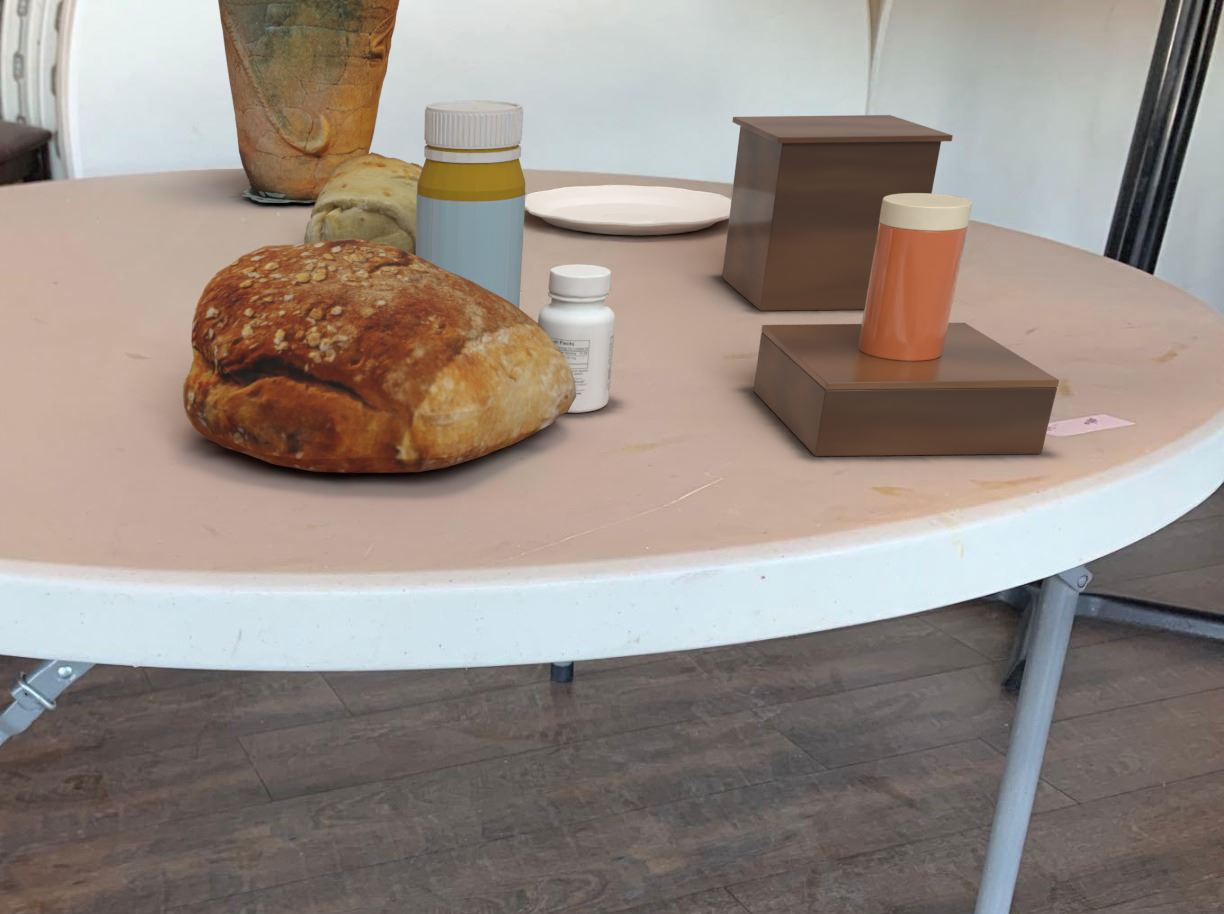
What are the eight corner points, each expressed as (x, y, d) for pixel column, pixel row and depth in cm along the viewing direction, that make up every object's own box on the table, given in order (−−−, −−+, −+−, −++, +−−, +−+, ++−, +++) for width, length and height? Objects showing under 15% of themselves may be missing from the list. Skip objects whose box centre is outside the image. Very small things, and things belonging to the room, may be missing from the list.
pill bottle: (573, 388, 86) (583, 258, 82) (623, 405, 82) (636, 271, 79) (517, 400, 84) (525, 268, 80) (567, 418, 80) (577, 281, 77)
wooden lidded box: (1041, 454, 74) (1059, 379, 72) (814, 456, 74) (826, 382, 72) (951, 388, 85) (965, 322, 83) (752, 390, 85) (761, 324, 83)
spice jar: (957, 351, 77) (988, 200, 73) (914, 365, 75) (944, 210, 71) (885, 336, 80) (911, 190, 77) (841, 349, 78) (866, 199, 74)
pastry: (409, 233, 130) (411, 141, 126) (479, 257, 120) (483, 159, 116) (270, 247, 125) (267, 152, 121) (330, 274, 115) (330, 171, 111)
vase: (438, 208, 141) (448, -135, 127) (240, 218, 137) (228, -135, 123) (386, 177, 159) (389, -127, 145) (210, 185, 156) (195, -126, 142)
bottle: (475, 361, 91) (485, 114, 84) (393, 343, 95) (395, 107, 88) (537, 340, 96) (551, 104, 88) (456, 324, 100) (463, 97, 93)
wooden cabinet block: (920, 310, 102) (953, 135, 96) (754, 312, 102) (778, 137, 96) (863, 274, 112) (890, 114, 107) (713, 276, 112) (732, 116, 107)
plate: (784, 221, 133) (787, 203, 132) (645, 251, 121) (647, 231, 121) (612, 194, 147) (614, 178, 146) (472, 219, 135) (473, 201, 135)
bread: (350, 366, 90) (350, 205, 86) (612, 412, 81) (628, 235, 76) (140, 453, 76) (125, 265, 71) (430, 523, 66) (436, 310, 62)
